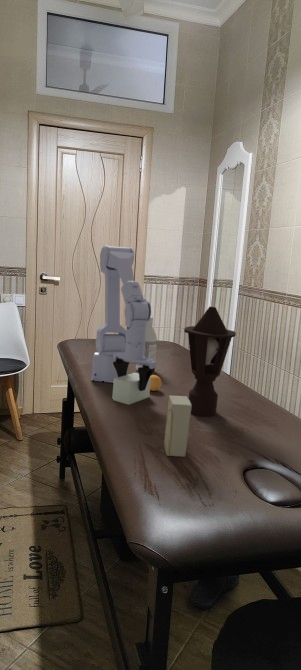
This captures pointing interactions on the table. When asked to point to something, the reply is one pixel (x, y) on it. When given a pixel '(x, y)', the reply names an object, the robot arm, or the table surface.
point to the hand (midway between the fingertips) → (132, 387)
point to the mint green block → (129, 389)
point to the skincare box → (177, 425)
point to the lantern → (207, 360)
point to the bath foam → (149, 342)
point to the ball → (155, 383)
